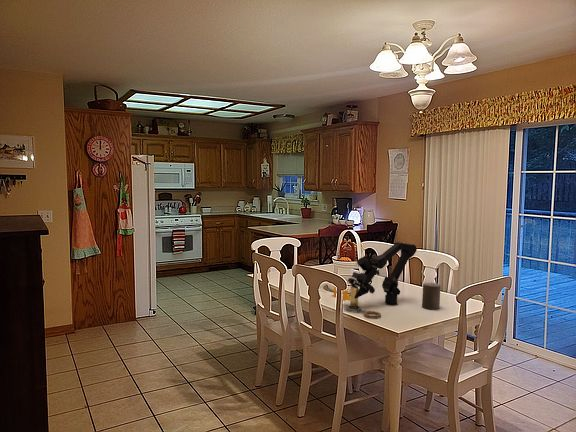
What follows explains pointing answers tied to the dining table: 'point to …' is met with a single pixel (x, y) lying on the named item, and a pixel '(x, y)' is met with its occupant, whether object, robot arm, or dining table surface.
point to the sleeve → (352, 300)
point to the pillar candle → (431, 296)
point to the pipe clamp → (345, 294)
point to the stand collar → (376, 316)
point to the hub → (354, 309)
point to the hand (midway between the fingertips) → (352, 297)
